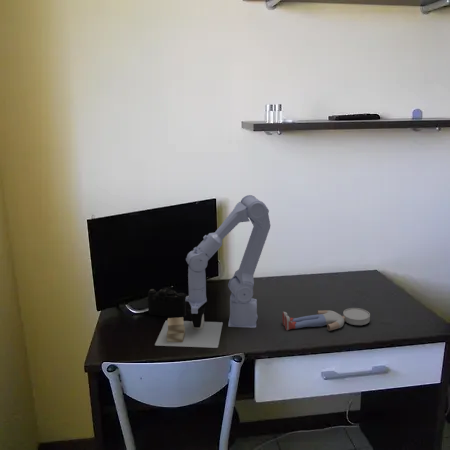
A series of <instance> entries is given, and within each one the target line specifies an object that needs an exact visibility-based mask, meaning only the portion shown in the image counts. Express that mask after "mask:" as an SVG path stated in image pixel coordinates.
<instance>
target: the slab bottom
mask: <svg viewBox="0 0 450 450" xmlns="http://www.w3.org/2000/svg"><path fill="white" fill-rule="evenodd" d="M184 337H185V326H184V333H176V334H168V331H167V342H183V340H184Z"/></svg>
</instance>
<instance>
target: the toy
mask: <svg viewBox="0 0 450 450" xmlns="http://www.w3.org/2000/svg"><path fill="white" fill-rule="evenodd" d="M370 318H371V313H370V312H369V311H368V310H366V309H364V308H359V307H350V308H349V307H348V308H346V309H344V310H343V313H342V315H341V313H338V312H336V311H333V310H326V309H325V310H316V314H311V315H305V316H304V315H303V316H300V317H290V316H289V315H288V313H287V312H286V311H282V318H281V319H282V325H283V327H284V328H285V330H286V331H289V330H296V329H301V328H306V327H307V328H309V327H312V328H313V327H314V328H316V327H325V326H326V328H327V330H328V331H329V332H330V331H333V330H334V331H335V330H337V329H342V327H343V326H344V324H345V323H347V324H349V325H352V326H353V325H354V326H363V325H367V324H368V323H370V320H371V319H370Z"/></svg>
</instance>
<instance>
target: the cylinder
mask: <svg viewBox="0 0 450 450" xmlns="http://www.w3.org/2000/svg"><path fill="white" fill-rule="evenodd" d="M204 322H205V314H203V315H202V321H201V326H200V328H197V327H194V326H193V322H192V328H193V329H195V330H201V329H203V328H204Z"/></svg>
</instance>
